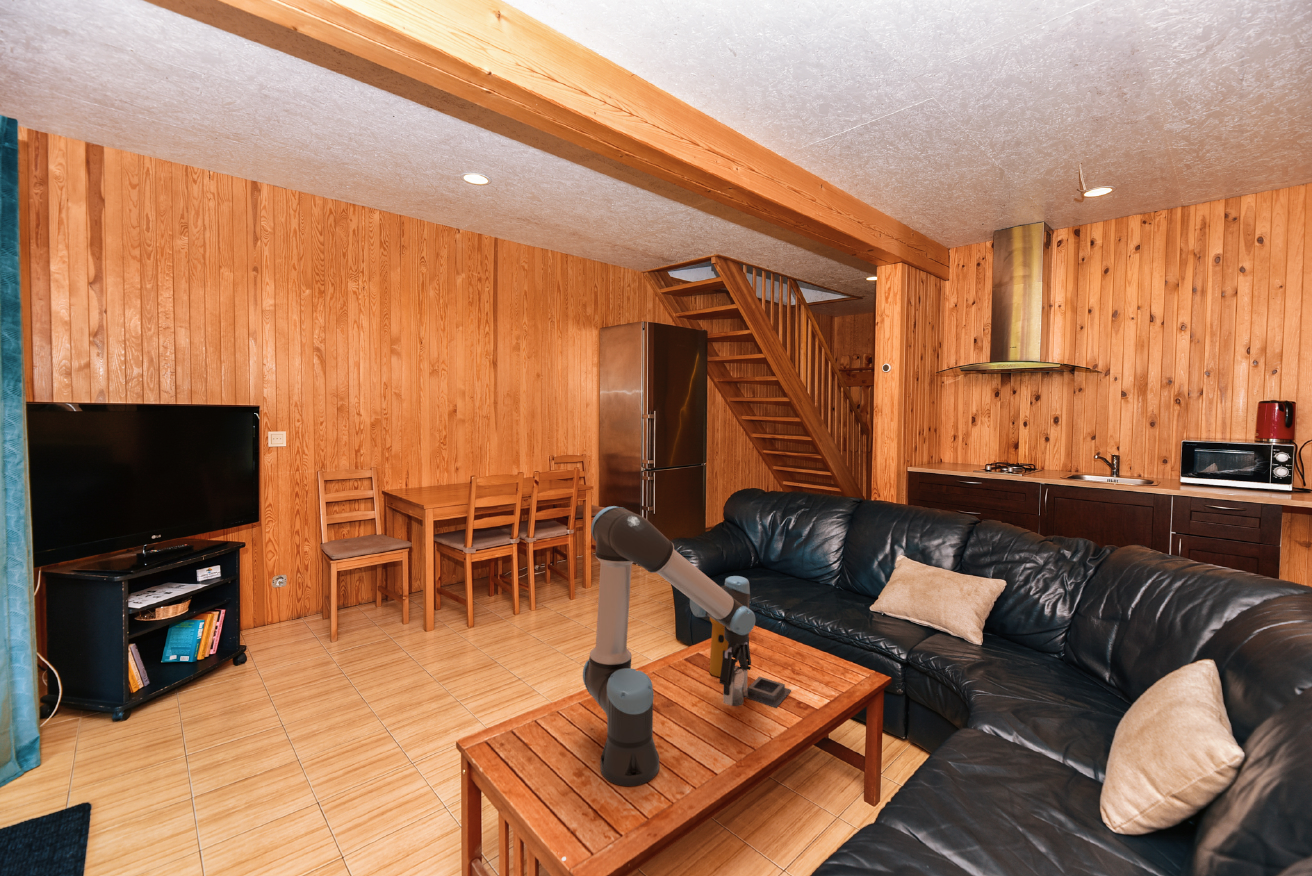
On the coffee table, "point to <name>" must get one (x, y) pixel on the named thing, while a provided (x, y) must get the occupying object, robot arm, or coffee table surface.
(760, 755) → the coffee table surface
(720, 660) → the flashlight
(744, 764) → the coffee table surface
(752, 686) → the collar
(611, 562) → the robot arm
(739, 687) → the piston
